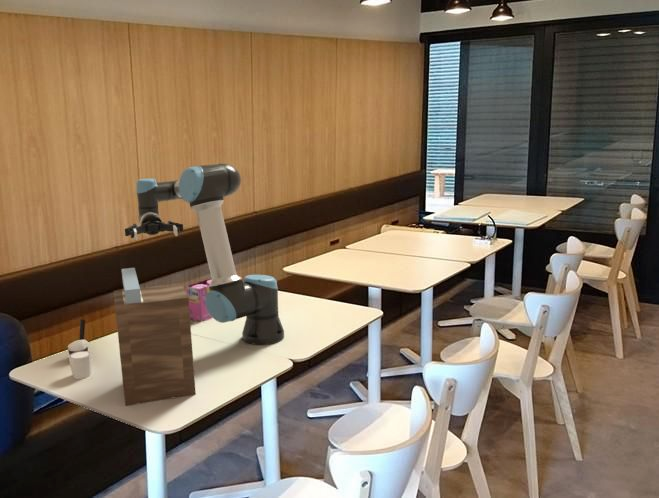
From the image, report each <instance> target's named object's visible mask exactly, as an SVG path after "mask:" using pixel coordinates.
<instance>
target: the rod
mask: <svg viewBox="0 0 659 498" xmlns="http://www.w3.org/2000/svg"><path fill="white" fill-rule="evenodd" d="M121 276H122V277H121V278H122V279H121V280H122V285H123V290H124V293H125V299H126V304H131V303H140V302H141V294H140V288H141V287H140V284H139V283H140V282H139V280H138V279H139V278H138V276H137V272H136V267H128V268H121Z"/></svg>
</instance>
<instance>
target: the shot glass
mask: <svg viewBox="0 0 659 498" xmlns="http://www.w3.org/2000/svg"><path fill="white" fill-rule="evenodd" d="M68 360H69V366H70V369H71V374H72V377H73V379H75V380H76V379H77V380H80V379H86V378H88V377H91V376H92V368H93V367H92V352H91V351H89V350H88V351H79V352H75V353H72V354H69V355H68Z"/></svg>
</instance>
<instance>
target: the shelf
mask: <svg viewBox="0 0 659 498" xmlns="http://www.w3.org/2000/svg"><path fill="white" fill-rule="evenodd" d="M140 294H141V302H140V303H131V304H126V299H125V293H124V289H119V290H113V299H114V308H115V318H116V327H117V330H116V331H117V339H118V348H119V357H120V368H121V376H122V378H121V379H122V387H123V394H124V395H123V396H124V405H125V407H126V406H133V405H139V404H146V403H150V402H157V401H164V400H170V399H174V398H181V397H188V396H192V395H197V394H196V381H195V369H194V368H195V367H194V353H193V343H192V342H193V341H192V331H191V330H192V329H191V328H192V327H191V319H190V313H189V299H188V296H187V292H186V289H185V288H184V286H183V284H182V283H172V284H164V285H163V284H161V285H154V286H153V285H151V286H146V287H140Z"/></svg>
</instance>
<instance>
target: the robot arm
mask: <svg viewBox="0 0 659 498" xmlns="http://www.w3.org/2000/svg"><path fill="white" fill-rule="evenodd" d="M241 183H242V177H241V174H240V172H239V170H238V169H237V168H236V167H235V166H233V165H231V164H228V163H217V164H214V163H213V164H205V165H196V166H191V167H187V168H185V169H184V170H183V171H182V172H181V174H180V177H179V179H175V180H169V181H161V182H157V180H156V179H155V178H152V177H151V178H140V179H138V180H137V181H136V199H137V205H138V208H137V209H138V222H139V224H140V225H138V224H137V223H133V224H132V225H130V226H128V227H126V228H124V236H125V237H129V236H130V239H134V240H135V241H137V240H139V239H138V235H140V234H147V235H149V236H154V235H158V234H159V233H160V232H161V233H163V232H173V234H174V235H175V237H178V236H179V234H178V233H181V232H184V224H183V223H178V222H174V221H171V220H168V221H167V223H165V222H164V221H162V218H161V217H160V214H159V210H160V209H159V203H160V202H162V203H163V202H168V201H175V200H182V201H184V202H186V203H188V204H189V207H190V210H193V211H194V212H196V213H195V214H196V216H197V221H198V226H199V230H200V233H201V238H202V242H203V246H204V251H205V256H206V261H207V264H208V269H209V273H210V278H212V281H211V283H210V285H209V289H210V291H209V292H208V293H207V294H206V299H205V303H206V307H207V310H208V312H209V314H210V315H211V316H212V318H213V319H214V320H215V321H216V322H218V323H221V324H222V323H228V322H234V321H235V320H238V319H242V318H244V317H245V318H246V319H245V321H244V325H243V330H242V333H241V334H242V340H243V341H244V342H245V343H247V344H251V345H259V346H260V345H261V346H262V345H270V344H276V343H279V342H280V341H283V339H284V338H285V330H284V327H283V324H282V322H281V318H280V317H279V316H280V315H279V296H278V295H279V294H278V293H279V292H278V290H279V288H278V284H277V283H278V281H277V279H276V278H275V277H274V276H271V275H267V274H249V275H245V276H244V277H243V278H242V276H240V275H238V274H237V270H236V265H235V263H234V258H233V253H232V250H231V248H232V247H231V245H230V241H229V237H228V236H229V235H228V232H227V227H226V223H225V219H224V215H223V210H222V205H223V204H224V202H225V200H224V197H228V196H232V195H233V194H235V193H236V192H237V191H238V190H239V189H240V186H241ZM243 281H244V282H243Z"/></svg>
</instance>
